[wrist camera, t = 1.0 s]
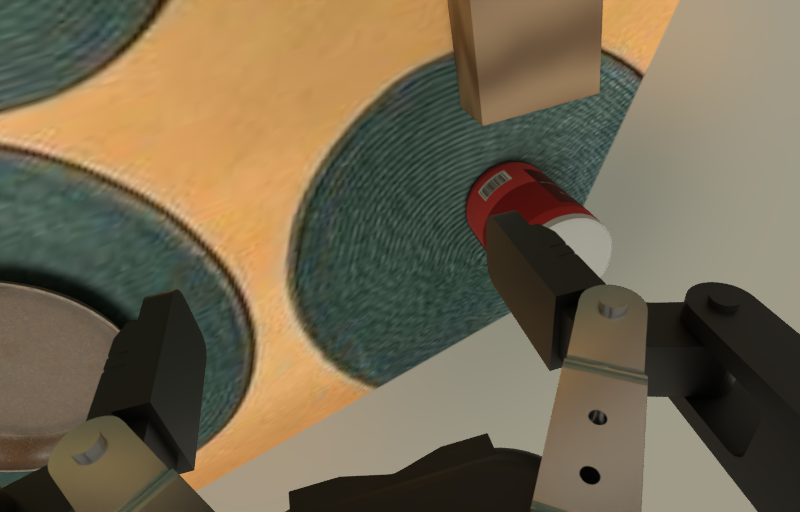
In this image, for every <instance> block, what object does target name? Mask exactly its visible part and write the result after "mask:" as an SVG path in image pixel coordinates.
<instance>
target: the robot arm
mask: <svg viewBox="0 0 800 512" xmlns="http://www.w3.org/2000/svg"><path fill="white" fill-rule="evenodd" d="M486 236H487V266H488V272H489V275H490V278H491V281H492V283H493V285H494V287H495V288H496V290H497V291H498V293H499V294H500V296H501V297H502V299H503V300H504V302H505V303H506V305H507V306H508V308H509V309H510V311H511V313H512V314H513V316H514V317H515V318H516V320H517V322H518V323H519V325H520V326H521V328H522V329H523V331H524V332H525V334H526V335H527V337H528V338H529V340H530V341H531V343H532V345H533V346H534V348H535V349H536V351H537V352H538V354H539V355H540V357H541V358H542V360H543V361H544V363H545V364H546V366H547V367H548V369H549V370H550V371H551V370H555V369H558V368H562V369H561V374H560V379H559V383H558V387H557V392H556V397H555V402H554V405H553V410H552V414H551V419H550V423H549V428H548V433H547V437H546V442H545V447H544V451H543V455H542V456H539V455H537V454H534V453H530V452H527V451H523V450H518V449H510V448H494V447H493V445H492V443H491V440H490V438H489V436H488V434H487V433H486V434H483V435H480V436H476V437H473V438H470V439H466V440H463V441H459V442H456V443H453V444H449V445H446V446H442V447H440V448H438V449H436V450H435V451H433V452H431V453H430V454H428V455H426V456H424V457H423V458H421V459H419V460H417V461H416V462H414V463H412V464H411V465H409V466H408V467H406V468H404V469H402V470H400V471H399V472H397V473H394V474H389V475H369V476H348V477H338V478H334V479H330V480H327V481H324V482H320V483H317V484H314V485H310V486H307V487H304V488H300V489H297V490H293V491H290V492H289V503H290V509H289V510H287V511H286V512H641V506H642V487H643V468H644V448H645V428H646V409H647V408H646V407H647V396H653V397H654V396H656V397H658V396H659V397H669V399H670V400H671V401H672V402H673V404H674V405H675V406H676V407H677V409H678V410H679V411H680V413H681V414H682V415H683V416H684V418H685V419H686V420H687V422H688V423H689V424H690V425H691V427H692V428H693V429H694V431H695V432H696V433H697V434H698V436H699V437H700V438H701V440H702V441H703V442H704V443H705V444H706V446H707V447H708V448H709V450H710V451H711V452H712V454H713V455H714V456H715V457H716V459H717V460H718V461H719V463H720V464H721V465H722V466H723V468H724V469H725V470H726V472H727V473H728V474H729V475H730V477H731V478H732V479H733V480H734V482H735V483H736V484H737V486H738V487H739V488H740V489H741V491H742V492H743V493H744V495H745V496H746V497H747V498H748V500H749V501H750V502H751V504H752V505H753V506H754V507H755V509H756V510H757V511H758V512H800V334H799V333H797V332H796V331H795V330H794V329H792V328H791V327H790V326H789V325H788V324H786V323H785V322H784V321H783V320H781V319H780V318H779V317H778V316H777V315H776V314H774V313H773V312H772V311H771V310H770V309H768V308H767V307H766V306H764V305H763V304H762V303H761V302H760V301H759V300H757V299H756V298H755V297H754V296H752V295H751V294H750V293H748V292H746V291H744V290H743V289H740V288H738V287H735V286H732V285H728V284H723V283H714V282H707V283H700V284H697V285H695V286H693V287H691V288H690V289H689V290H688V291H687V293H686V297H685V301H684V302H673V303H672V302H669V303H646V302H645V301H644V299H642V297H641V296H639V295H638V294H637V293H635V292H633V291H632V290H629V289H627V288H624V287H621V286H616V285H606V284H605V283H604V282H603V281H602V279H601V278H600V277H599V276H598V275H597V274H596V273H595V272H594V271H593V270H592V269H591V268H590V267H589V266H588V265H587V264H586V263H585V262H584V261H583V260H582V259H581V258H580V257H579V256H578V255H577V254H575V252H574V250H573V249H572V248H571V247H570V246H569V245H566V242H565V241H564V240H563V239H562V238H561V237H560V236H559V235H558V234H557V233H556V232H555V231H553V230H551V229H549V228H547V227H545V226H543V225H541V224H539V223H538V224H534V225H530V224H529V223H528V222H527V221H526V220H525V219H524V218H523V217H522V216H521V214H520V213H519V212H518V211H516V210H513V211H509V212H504V213H500V214H496V215H492V216H488V218H487V221H486ZM206 357H207V356H206V346H205V341H204V338H203V335H202V333H201V331H200V329H199V327H198V325H197V323H196V321H195V319H194V317H193V315H192V312H191V310H190V308H189V306H188V304H187V302H186V300H185V298H184V296H183V294H182V293H181V292H180V291H179V290H172V291H168V292H164V293H160V294H155V295H151V296H147V297H145V298H144V300H143V303H142V307H141V310H140V314H139V317H138V320H134V321H130V322H127V323H126V324H125V326H124V327H123V328H122V329H121V330H120V332H119V333H118V334H117V335H116V337H115V338H114V339H113V342H112V345H111V348H110V351H109V354H108V359H107V360H106V363H105V366H104V369H103V370H104V373H102V375H101V378H100V381H99V384H98V386H97V389H96V392H95V395H94V398H93V401H92V404H91V407H90V410H89V413H88V416H87V419H86V422H84V423H82V424H80V425H79V426H77V427H75V428H74V429H73V430H71V431H70V432H69V433H67V434H66V435H65V436H64V437H63V438H62V439H61V440H60V441H59V443H58V444H57V445H56V447H55V448H54V449H53V451H52V453H51V455H50V458H49V461H48V464H47V465H45V466H44V467H42V468H40V469H38V470H36V471H34V472H32V473H30V474H28V475H27V476H25V477H23V478H21V479H19V480H17V481H15V482H13V483H11V484H9V485H7V486H5V487H3V488H1V487H0V512H215V511H214V510H213V509H212V508H211V507H210V506H209V505H208V504H207V503H206V502H205V501H204V500H203V499H202V498H201V497H200V496H199V495H198V494H197V493H196V492H195V491H194V490H193V489H192V487H191V486H190V485H189V484H188V483H187V482H186V481H185V480H184V479H183V478H182V477H181V476H180V475H179V474H182V473H186V472H189V471H193V470H194V467H195V458H196V449H197V440H198V430H199V421H200V412H201V403H202V394H203V385H204V376H205V367H206Z"/></svg>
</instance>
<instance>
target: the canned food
mask: <svg viewBox="0 0 800 512" xmlns="http://www.w3.org/2000/svg"><path fill="white" fill-rule="evenodd" d="M513 210H516V211H518V212H519V213H520V214H521V216H522V217H523V218H524V219H525V220H526V221H527V222H528V223H529V224H530V225H534V224H538V223H539V224H541V225H543V226H545V227H547V228H549V229H551V230H553V231H555V232H556V233H557V234H558V235H559V236H560V237H561V238H562V239H563V240H564V241H565V242H566V245H569V246H570V247H571V248H572V249H573V250H574V252H575V254H577V255H578V256H579V257H580V258H581V259H582V260H583V261H584V262H585V263H586V264H587V265H588V266H589V267H590V268H591V269H592V270H593V271H594V272H595V273H596V274H597V275H598V276H599V277H600V278H601V277H602V275H603V273H604V272H605V270H606V268H607V266H608V264H609V261H610V258H611V253H612V241H611V236H610V234H609V232H608V230H607V229H606V228H605V227H604V225H603V224H602V223H601V222H600V221H599V220H598V219H597V218H596V217H594V216H593V215H592V214H591V213H590V212H589V211H588V210H586V209H585V208H584V207H583V206H582V205H581V204H579V203H578V202H577V201H576V200H575V199H573V198H572V197H571V196H570V195H569V194H567V193H566V192H565V191H564V190H563V189H561V188H560V187H559V186H558V185H557V184H555V183H554V182H553V181H552V180H551V179H549V178H548V177H547V176H546V175H545V174H543V173H542V172H541V171H540V170H539V169H537V168H536V167H534V166H532V165H530V164H526V163H522V162H506V163H502V164H499V165H497V166H495V167H493V168H491V169H489V170H488V171H487V172H485V173H484V174H483V175H482V176H481V177H480V178H479V179H478V180H477V181H476V183H475V184H474V186H473V187H472V189H471V191H470V193H469V196H468V199H467V203H466V215H467V221H468V225H469V227H470V229H471V231H472V232H473V234H474V235H475V236H476V238H477V239H478V241H479V242H480V244H481V245H482V246H483V248H484V249H485V251H486V252H487V236H486V221H487V218H488V216H492V215H496V214H500V213H504V212H509V211H513Z"/></svg>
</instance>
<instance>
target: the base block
mask: <svg viewBox="0 0 800 512" xmlns="http://www.w3.org/2000/svg"><path fill="white" fill-rule="evenodd" d="M448 8H449V16H450V24H451V32H452V40H453V48H454V56H455V64H456V71H457V79H458V87H459V95H460V103H461V107H462V108H463V109H464V110H465V111H466V112H467V113H468V114H470V115H471V116H472V117H473V118H474V119H475V120H476V121H478V122H479V123H480V124H481V125H482V126H485V125H488V124H492V123H495V122H499V121H502V120H506V119H509V118H513V117H516V116H520V115H524V114H527V113H531V112H534V111H538V110H541V109H545V108H548V107H552V106H555V105H559V104H563V103H566V102H570V101H573V100H577V99H580V98H584V97H587V96H591V95H595V94H598V93H599V87H600V61H601V35H602V9H603V0H448Z"/></svg>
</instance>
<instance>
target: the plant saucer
mask: <svg viewBox="0 0 800 512" xmlns="http://www.w3.org/2000/svg"><path fill="white" fill-rule="evenodd" d="M120 330H121V329H120V328H119V327H117V326H116V325H115V324H114V323H113V322H112V321H111V320H110V319H108V318H107V317H106V316H104V315H103V314H102V313H100V312H99V311H97V310H95V309H94V308H92V307H90V306H89V305H87V304H85V303H83V302H81V301H79V300H77V299H75V298H72V297H70V296H67V295H65V294H62V293H59V292H56V291H53V290H50V289H46V288H43V287H39V286H34V285H29V284H24V283H17V282H11V281H0V472H23V471H36V470H38V469H40V468H42V467H44V466H45V465H47V464H48V461H49V458H50V455H51V453H52V451H53V449H54V448H55V447H56V445H57V444H58V443H59V441H60V440H61V439H62V438H63V437H64V436H65V435H66V434H67V433H69V432H70V431H71V430H73V429H74V428H75V427H77V426H79V425H80V424H82V423H84V422H86V419H87V416H88V413H89V410H90V407H91V404H92V401H93V398H94V395H95V392H96V389H97V386H98V384H99V381H100V378H101V375H102V373H104V370H103V369H104V366H105V363H106V360H107V359H108V354H109V351H110V348H111V345H112V342H113V339H114V338H115V337H116V335H117V334H118V333H119V332H120Z"/></svg>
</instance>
